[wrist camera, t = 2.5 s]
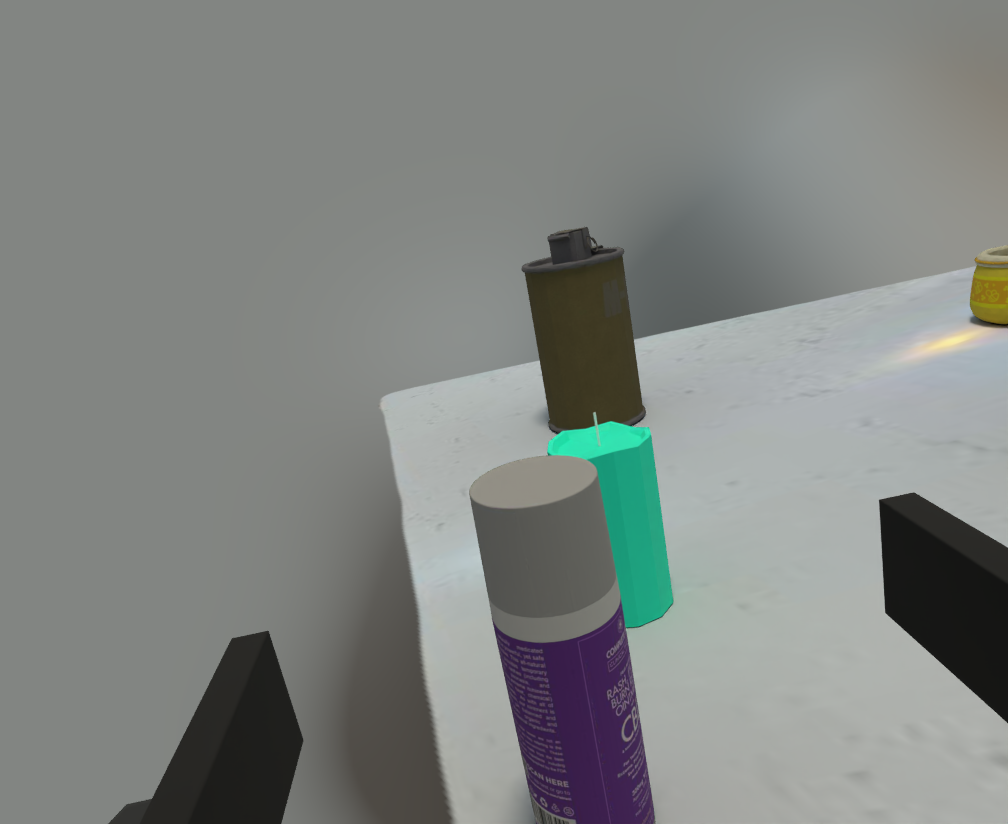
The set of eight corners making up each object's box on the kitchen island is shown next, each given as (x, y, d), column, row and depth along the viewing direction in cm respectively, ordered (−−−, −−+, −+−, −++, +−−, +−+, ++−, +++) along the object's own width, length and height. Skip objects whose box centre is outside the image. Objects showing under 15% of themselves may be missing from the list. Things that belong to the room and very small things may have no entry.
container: (669, 865, 27) (612, 493, 23) (543, 888, 27) (463, 520, 23) (642, 770, 31) (590, 445, 27) (534, 789, 31) (466, 468, 27)
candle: (689, 613, 42) (664, 415, 38) (588, 639, 41) (553, 439, 38) (653, 565, 47) (629, 389, 44) (564, 587, 47) (532, 410, 43)
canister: (624, 436, 72) (594, 230, 66) (532, 435, 77) (497, 244, 72) (660, 401, 80) (637, 216, 75) (575, 402, 86) (547, 230, 80)
